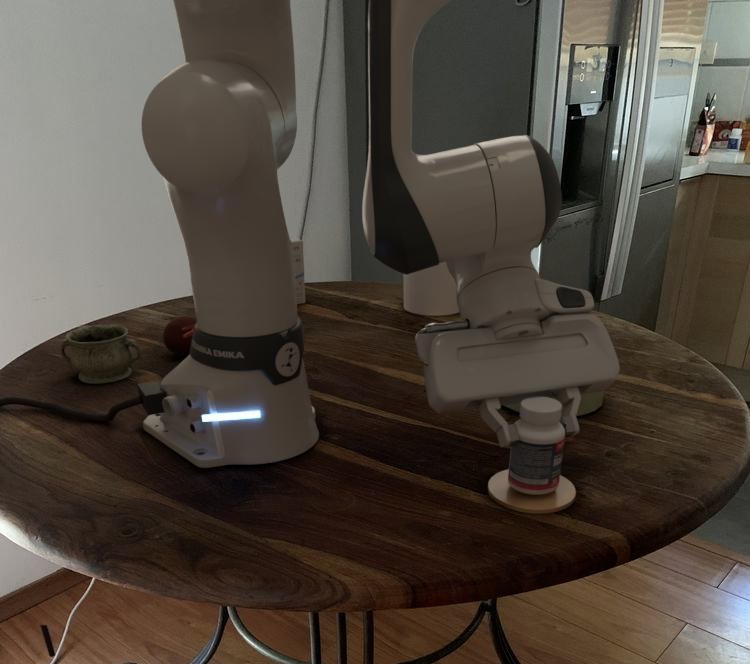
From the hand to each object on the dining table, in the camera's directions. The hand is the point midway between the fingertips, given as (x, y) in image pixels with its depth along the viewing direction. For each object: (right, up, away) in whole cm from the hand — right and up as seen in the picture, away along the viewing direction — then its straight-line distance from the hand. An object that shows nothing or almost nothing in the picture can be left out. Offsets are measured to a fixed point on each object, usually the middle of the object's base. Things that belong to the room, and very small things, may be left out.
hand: (541, 440), depth 73 cm
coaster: (0, -5, +4) cm, 6 cm away
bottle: (-5, +30, +64) cm, 71 cm away
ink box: (-34, +31, +67) cm, 82 cm away
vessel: (-56, +12, +35) cm, 67 cm away
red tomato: (-45, +16, +42) cm, 63 cm away
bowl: (+7, +8, +25) cm, 27 cm away
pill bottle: (0, -4, +3) cm, 5 cm away
